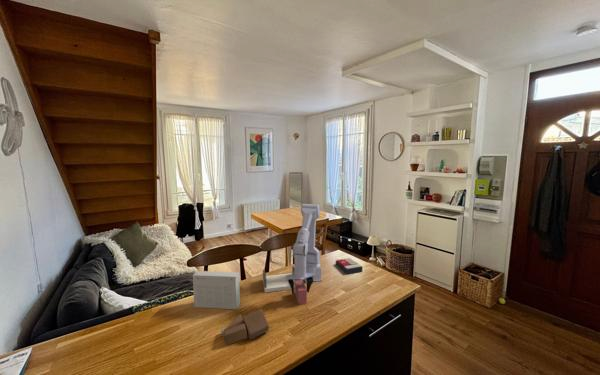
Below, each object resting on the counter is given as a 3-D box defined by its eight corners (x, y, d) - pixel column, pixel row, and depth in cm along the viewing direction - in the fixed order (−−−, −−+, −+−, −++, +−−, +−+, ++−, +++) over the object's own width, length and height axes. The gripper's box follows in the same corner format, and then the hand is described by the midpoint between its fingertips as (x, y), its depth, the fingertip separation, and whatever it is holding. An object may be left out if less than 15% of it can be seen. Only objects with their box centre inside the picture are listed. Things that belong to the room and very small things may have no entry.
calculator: (349, 257, 166) (362, 265, 151) (349, 263, 166) (362, 272, 152) (335, 259, 162) (347, 268, 148) (335, 266, 162) (347, 275, 148)
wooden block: (223, 333, 104) (265, 318, 109) (223, 353, 91) (271, 335, 97) (219, 316, 104) (261, 302, 109) (219, 334, 91) (267, 316, 96)
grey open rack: (293, 276, 146) (293, 265, 146) (298, 288, 133) (298, 277, 132) (262, 279, 143) (262, 268, 142) (264, 292, 129) (264, 280, 128)
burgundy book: (302, 292, 129) (302, 279, 128) (306, 303, 120) (306, 289, 119) (294, 293, 128) (294, 280, 128) (298, 304, 119) (298, 290, 118)
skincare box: (240, 303, 120) (239, 272, 118) (236, 310, 115) (235, 277, 113) (199, 300, 122) (197, 270, 120) (193, 307, 117) (191, 275, 115)
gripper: (287, 271, 116) (287, 298, 118) (316, 268, 120) (316, 295, 121) (284, 265, 123) (285, 290, 125) (312, 262, 126) (312, 287, 128)
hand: (300, 292), depth 124 cm, fingers open, 7 cm apart
